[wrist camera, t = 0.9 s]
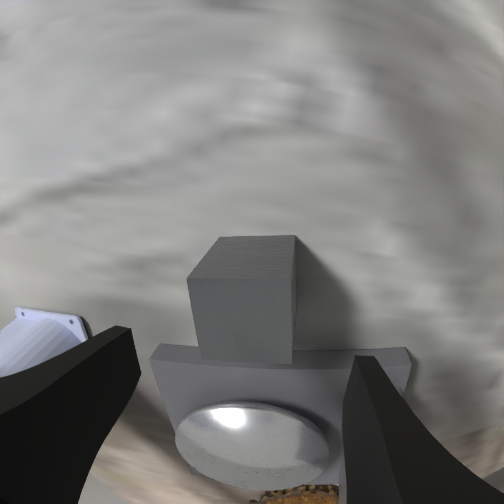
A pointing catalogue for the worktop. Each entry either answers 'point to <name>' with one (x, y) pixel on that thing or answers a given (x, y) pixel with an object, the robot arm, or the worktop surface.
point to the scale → (274, 389)
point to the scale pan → (252, 445)
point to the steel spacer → (246, 299)
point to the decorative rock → (301, 495)
